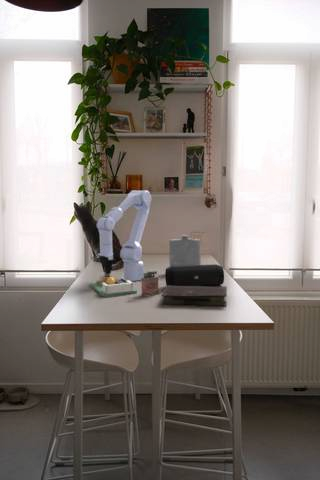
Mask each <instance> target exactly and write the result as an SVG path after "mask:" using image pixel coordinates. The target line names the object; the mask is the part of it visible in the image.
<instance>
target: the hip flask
mask: <svg viewBox="0 0 320 480" xmlns="http://www.w3.org/2000/svg"><path fill="white" fill-rule="evenodd" d="M180 237H181V238H180V239H179V238H178V239H169V240H168V241H169V243H168V245H169V267H171V266H188V265H202V264H201V263H202V262H201V261H202V260H201V257H202V254H201V252H202V251H201V250H202V249H201V239H196V238H189V235H188V234H181V236H180Z"/></svg>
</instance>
